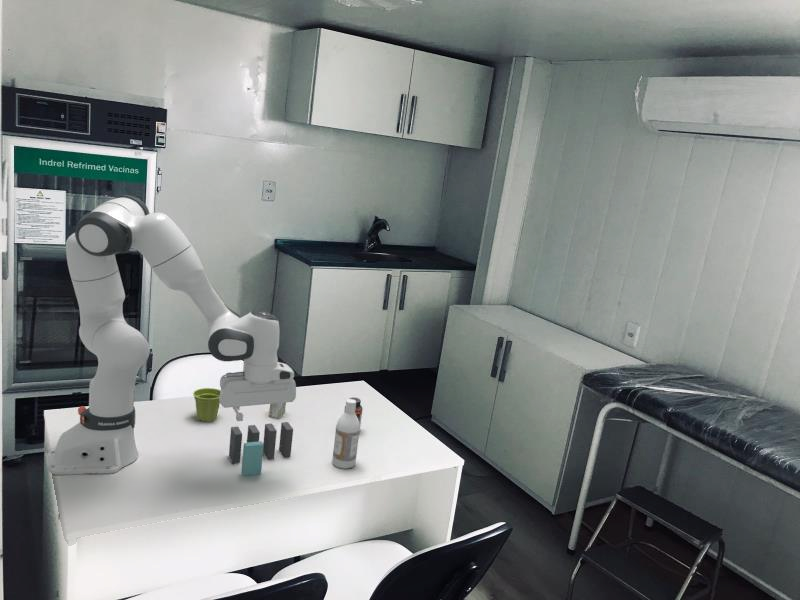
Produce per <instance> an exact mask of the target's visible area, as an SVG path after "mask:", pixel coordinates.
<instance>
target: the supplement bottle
mask: <svg viewBox="0 0 800 600" xmlns="http://www.w3.org/2000/svg"><path fill="white" fill-rule="evenodd" d="M348 399H353V400H355V401H356V408H355V414H356V416H357V418H358V420H359V423H360V425H361V424H362V423H361V422H362V417H363V416H362V415H363V406H362V404H361V401H362V400H361V399H360V398H359V397H354V396H353V397H348ZM345 407H346V404H345V406H344V408H345ZM344 412H345V409H344V411H343V413H344Z"/></svg>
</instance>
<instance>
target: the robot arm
mask: <svg viewBox="0 0 800 600" xmlns="http://www.w3.org/2000/svg"><path fill="white" fill-rule="evenodd" d="M130 249H134V250H136V251H138V252H139V253H141V255H142V257H143V258H144V259H145V261H146V262H147V263H148V265H149V267H150V268H151V270H152V272H154V274H155V275H156V276H157V278H158V279H159V280H160V282H162V283H163V284H164V286H166V287H167V288H168V289H170V290H173V291H179V292H183V293H184V294H185V295H187V296H189V298H190V299H191V300H192V301H193V303H194V304H195V306H196V307H197V309H199V311H200V313H201V314H202V315H203V317H204V318H205V319H206V321H207V324H208V332H209V333H208V343H207V348H208V351H209V353H210V354H211V355H212V357H213V358H215V359H216V360H218V361H221V362H234V361H235V362H237V361H243V367H242V371H236V372H226V373H225V374H224V375H221V376H220V379H219V387H220V390H221V391H220V397H219V401H220V404H219V405H221V406H222V407H223V408H226V409H227V408H228V409H229V408H232V409H233V410H234V413H235V414H236V415H235V419H236V422H243V421H244V414H243V413H242V412H239V411H240V409H241V408H240V407H251V406H258V405H259V406H261V405H270V404H274V403H275V404H276V406H275V408H274V410H271V414H270V416H271V417H270V418H271V419H277V418H276V417H277V415H278V411H279V410H280V409H281V407H282V403H286V404H287V403H293V402H294V401H295V400H296V397H297V384H296V381H295V380H294V379H295V378H294V377H295V372H294V370H293V368H291V367H290V366H289V365H288V364H287V363H284V362H279V359H278V350H279V347H280V334H281V333H280V322H279V319H278V318H277V317H276V316H275V315H274V314H273V313H270V312H268V311H265V310H261V309H257V310H251V311H249V312H248V313H247V314H246V315H244V316H241V315H240V314H239V313H237V312H236V311H234V310H232V309H231V308H229V306H227V304H226V303H225V302H224V300H223V299H222V298H221V296H220V295H219V293H218V291H217V290H216V289H215V288H214V287H213V285H212V283H211V281H210V280H209V278H208V276H207V273H206V271H205V268H204V266H203V264H202V262H201V259H200V257H199V255H198V254H197V252H196V249H195V248H194V246H193V245H192V244H191V242H190V240H189V239H188V238H187V236H186V234H184V232H183V231H182V229H181V228H180V227H179V226H178V224H176V223H175V221H173V219H172V218H171V217H169V216H168V215H167V214H166V213H164V212H150V210H149V208H148V205H146V203H145V202H143V201H142V200H141V198H139V197H137V196H135V195H134V196H133V195H128V194H127V195H126V194H123V195H119V196H118V195H117V196H115V197H113V198H112V199H109V200H108V201H107V200H106V201H105V202H103V203H101V204H99V205H98V206H96V208H94V209H92V211H89V212H88V213H86V214H85V215H83V216H82V218H81V219H79V221H78V223H76V226H75V231H74V233H72V234H71V235H69V236H68V238H67V239H66V243H65V252H66V253H65V254H66V261H67V262H66V263H67V267H68V272H69V275H70V278H71V282H72V285H73V289H74V293H75V297H76V300H77V304H78V308H79V317H80V318H79V319H80V321H79V322H80V326H79V329H78V335H79V338H80V340H81V342H82V344H83V345H84V347H85V349H87V350H88V351H89V352H91V353H92V354H94V355H95V356H96V357H97V363H98V364H97V369H96V372H95V376H94V377H92V379H91V380H90V381H89V386H88V387H89V389H88V390H89V393H88V396H89V397H88V408H87V407H85V406H84V405H82V406H79V407H78V408H77V414H78V415H79V422H78V423H77V424H75V425H74V426H72V427H71V428H69V429H68V430H66V431H64V432H62V433H61V434H60V436H59V438H58V441H57V443H56V446H55V447H53V448H52V449H51V450H49V451H48V453H47V455H46V460H45V467H46V469H47V471H48V473H50V474H52V475H86V473H98V474H114V473H117V472H119V471H120V470H121V469H122V468H123V467H127V466H128V465H130V464H132V463H133V462H135V461H136V460H137V459H138V456H139V451H138V449H137V445H136V440H135V432H134V431H135V430H134V429H135V425H136V417H137V415H136V408H135V388H136V387H135V386H136V385H135V384H136V380H137V376H138V374H139V370H140V368H141V367H143V365H144V364H145V363H147V360H148V359H149V357H150V354H151V353H150V352H151V348H150V344H149V342H148V341H147V339H146V338H145V337H144V335H143V334H142V333H141V331H139V330H138V329H136V328H135V327H133V326H131V325H130V324H128V323H127V321H126V319H125V317H124V314H123V313H124V312H123V309H124V308H123V305H124V304H123V303H124V301H125V299H126V293H125V289H124V285H123V281H122V277H121V274H120V270H119V266H118V263H117V259H116V255H119V254H126V253H128V252H129V251H130ZM84 473H85V474H84Z"/></svg>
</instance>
